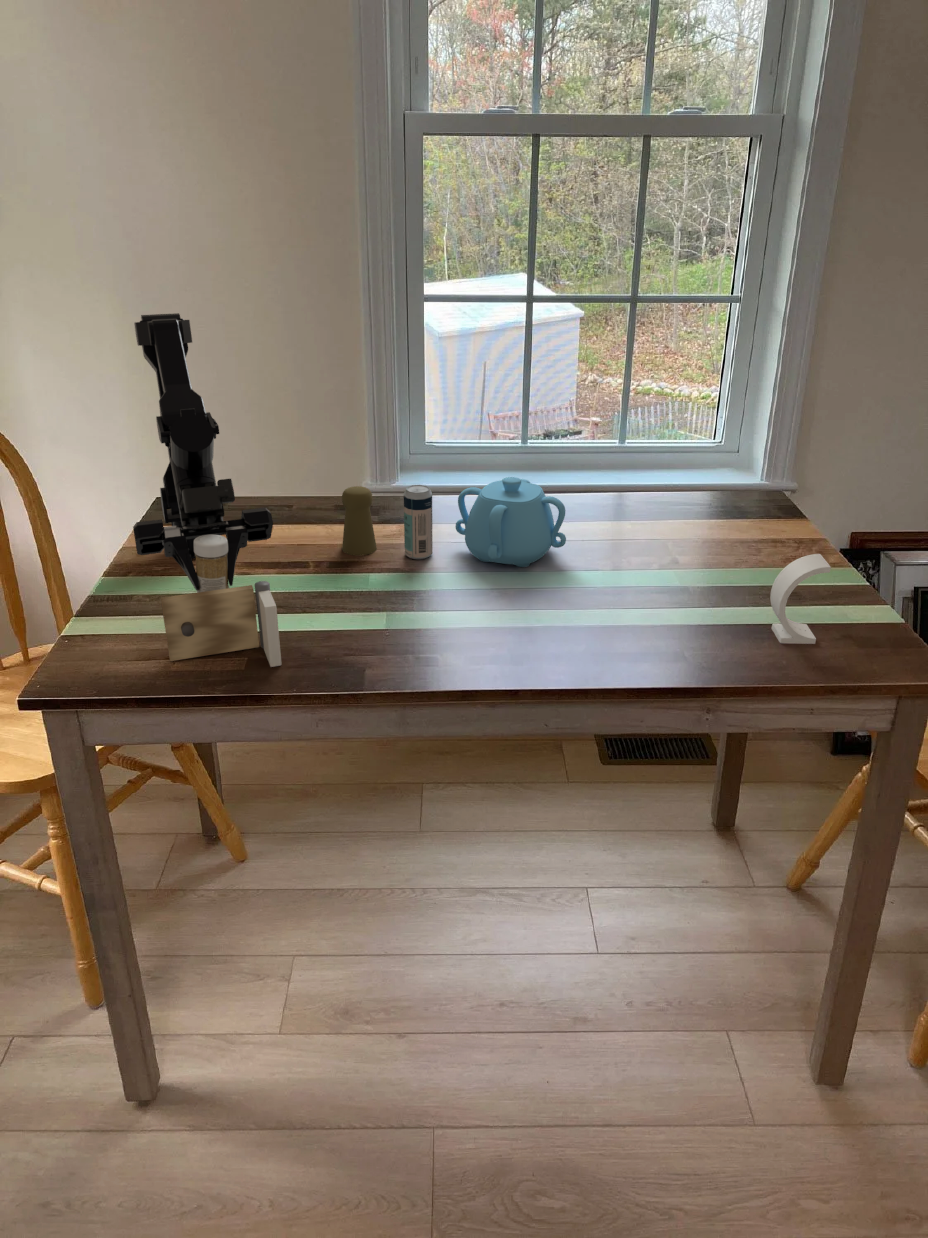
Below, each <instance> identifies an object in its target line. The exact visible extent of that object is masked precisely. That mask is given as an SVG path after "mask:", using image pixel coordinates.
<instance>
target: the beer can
mask: <svg viewBox="0 0 928 1238" xmlns="http://www.w3.org/2000/svg"><path fill="white" fill-rule="evenodd" d="M403 526H404V527H403V533H404V535H403V536H404V538H403V539H404V542H403V543H404V555H405V556H407V557H408V558H410V559H412V560H424V559H425V560H426V559H427V558H428V557H430V556H432V555H433V553H434V552H433V493H432V490H431V489H430V487H429V486H427V485H423V484H411V485H409V486H407V487H406V489H405V491H404V492H403Z"/></svg>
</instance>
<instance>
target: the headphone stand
mask: <svg viewBox="0 0 928 1238" xmlns="http://www.w3.org/2000/svg"><path fill="white" fill-rule="evenodd" d="M831 568H832V567H831V565H830V564H829V563H828V562H827V560H826V559H825V558H824V557H823V555H822V554H821V553H813V554H808V555H804V556H802V557H799V558H797V559H795V560H793V561H792V562H790V563H789V564H787V565H786V566H785V567H784V568H783V569H782V570H781V571H780V572H779V573H778V574H777V576H776V577H775V579H774V581H773V583H772V586H771V590H770V594H769V596H770V604H771V605H770V606H771V608H772V611H773V612H774V614H775V617H776V618H777V619H778V621H779V622H780V623H772V625H771V630H772V633H774V635H775V637H776V639H777V640H778V642H779V644H798V645H799V644H802V645H804V644H805V645H807V644H808V645H812V644H813V645H816V641H817V638H816V636H815V635H814V633H813V632H812V630H811V629H810V627H809V626H808V624H807V623H801V622H800V623H799V622H796V621H793V620H791V619H789V618H788V617H787V615H786V606H787V602H788V600H789V597H790V596H791V593H792V592H793V591H794V590H795V589H796V588H797V586H798V585H799V584H801V583H802V582H804V581H805V580H807V579H808V578H811V577H812V576H813V577H814V576H817V575H820V574H827V573H828V574H829V573H830V572H831V570H832V569H831Z"/></svg>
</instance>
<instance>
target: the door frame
mask: <svg viewBox="0 0 928 1238" xmlns="http://www.w3.org/2000/svg"><path fill="white" fill-rule="evenodd" d="M254 589H255V590H254V595H255V600H256V601H255V604H256V614H257V624H258V634H259V644H260V647H261V649H263V651H264V653H265V656H266V659H267V661H268V665H269V667H270V668H272V667H273V668H274V667H279V666H282V665H283V664H282V656H281V655H282V654H281V652H282V651H281V643H280V632H279V622H278V621H279V620H278V609H277V605H276V601H275V599H274V597H273V595H272V592H271V586H270V582H269V581H266V580H261V581H257V582H255V583H254Z"/></svg>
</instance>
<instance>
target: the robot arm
mask: <svg viewBox="0 0 928 1238" xmlns="http://www.w3.org/2000/svg"><path fill="white" fill-rule="evenodd" d="M140 319H141V320H140V321H137V322H136V321H135V322H134V331H135V337H136V343H137V346H141V348H142V349H141V350H142V354H143V359H145V360H146V362H147V363H148V365H150V367H151V368H152V369H153V371H154V372H155V375H156V382H157V387H158V393H159V394H158V395H159V400H158V406H159V414H160V415H158V416H157V415H156V417H155V421H156V427H157V434H158V438H159V439H158V440H159V442H160V443H161V444H164V445H165V447H166V448H167V454H168V459H169V463H168V465H167V468H166V470H165V473H164V475H163V477H162V484H163V487H160V488H159V491H160V503H161V508H162V516H163V519H164V522H163V519H153V520H145V521H143V520H142V521H137V522H136V523H135V524H134V525H133V527H132V528H133V530H132V531H133V536H134V542H135V548H136V555H139V556H145V555H146V556H147V555H155V554H161V553H162V552H164V557H166V558H172V559H174V561H175V562H176V563H177V564H178V565H179V567H181V569H182V570H183V572H184V573H185V575H186V577H187V578H188V580H189V581H190V583H191V585H192V586H193V588H194V590H195V591H197V590H199V584H198V578H197V574H196V569H195V568H196V567H195V565H194V562H193V560H194V559H196V556H195V553H194V539H195V538H197V537H199V536H202V535H209V534H214V535H221V536H225V538H226V539H227V540H228V553H227V567H228V586H229V587H231V586H233V585H234V576H235V568H236V564H237V563H236V562H237V559H238V555H239V553H240V549H244V548H246V547H247V546H248V542H249V543H250V542H251V543H252V542H258V541H267V540H269V539H271V537H272V532H273V526H274V520H273V516H272V512H271V511H270V510H269V509H268V508H267V507H260V508H257V507H256V508H249V509H243V510H241V516H240V518H239V519H238V518H236V519H230V520H224V517H225V509H224V504H230V503H234V502H235V499H236V497H235V490H234V486H233V481H232V478H225V479H224V478H223V479H222V478H221V479H218V480H216V477H215V471H214V466H213V459H214V447H215V446H214V444H215V442H214V441H215V440H216V439H217V435H220V428H219V427H220V426H219V424H218V422H217V421H216V419H215V418H213V416H212V414H211V412H209V411H206V406H205V403H204V399H203V397H202V396H201V395H199V393H197V392H196V391H195V390H194V389H193V387H192V382H191V377H190V373H189V368H188V363H187V359H186V358H187V355H188V352H189V344H193V337H192V329H191V321H190V319H184V318H181V314H180V313H178V312H177V313H159V314H157V313H156V314H154V313H153V314H141V315H140ZM216 481H217V482H216ZM164 523H165V524H169V523H171V526H164Z"/></svg>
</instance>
